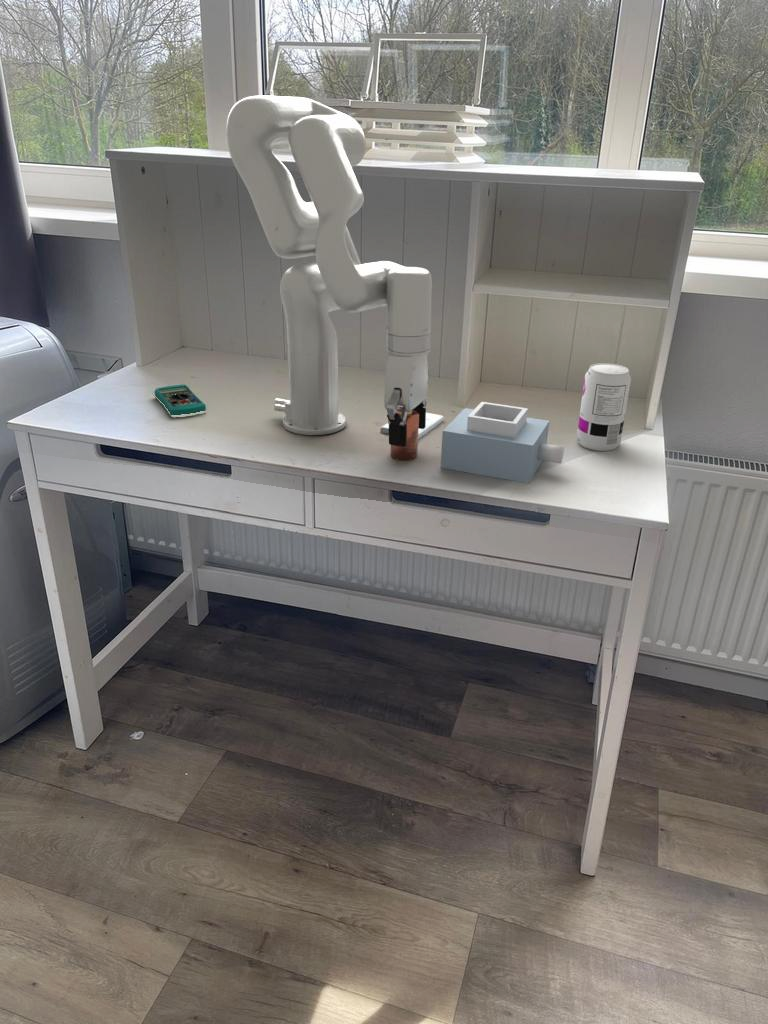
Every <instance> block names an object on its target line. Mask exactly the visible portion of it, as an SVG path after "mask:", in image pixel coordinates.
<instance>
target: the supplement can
mask: <svg viewBox="0 0 768 1024" xmlns="http://www.w3.org/2000/svg"><path fill="white" fill-rule="evenodd" d="M631 381H632V377H631V374H630V370H629V368H628V367H626V366H623V365H620V364H617V363H616V364H615V363H607V362H600V363H599V362H598V363H593V364H591V365H590V366H589V369H588V370H587V371H586V373H585V375H584V381H583V389H582V395H581V404H580V410H579V416H578V424H577V431H576V441H577V442H578V443H579V445H580V446H581V447H582V448H586V449H588V450H591V451H596V452H597V451H598V452H610V451H612V450H615V449H616V448H618V447H619V446H620V445H621V441H622V438H623V436H622V435H623V430H624V423H625V417H626V411H627V405H628V400H629V394H630V387H631Z"/></svg>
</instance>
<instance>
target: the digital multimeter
mask: <svg viewBox="0 0 768 1024" xmlns="http://www.w3.org/2000/svg"><path fill="white" fill-rule="evenodd" d="M175 394H176V395H175ZM155 396H156V397H157V398H158V399H159V400H160V401H161V402H162V403H163V404H164V405H165V407H166V408H167V409H168V411H169V412H170V414H171V415H181V414H190V413H196V412H200V411H205V410H206V411H207V406H206V403H204V402H203V401H202V400H201V399H200V398H199V397H197V395H196V394H195V393H194V392H193V391H192V389H191V388H190V387H189V386H188V385H186V384H176V385H175V384H174V385H167V386H161V387H157V388H156V389H155V390H154V397H155Z"/></svg>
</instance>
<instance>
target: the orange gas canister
mask: <svg viewBox="0 0 768 1024" xmlns="http://www.w3.org/2000/svg"><path fill="white" fill-rule="evenodd" d="M402 407H405V406H402ZM396 413H398V414H399V415H400V417H401V415H402V412H396ZM405 424H406V425H407V445H406V446H405V447H402V446H395V445H390V453H389V454H390V457H391V458H392V459H394V460H396V461H401V462H402V461H405V462H406V461H407V462H408V461H413V460H415V459H417V458H418V448H419V439H418V429H419V413H418V412H416V411H412V410H411V411H409V412H408V413H407V417H406V421H405Z"/></svg>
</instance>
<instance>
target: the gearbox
mask: <svg viewBox="0 0 768 1024" xmlns="http://www.w3.org/2000/svg"><path fill="white" fill-rule="evenodd" d="M528 411H529V408H526V407H521V406H514V405H513V406H512V405H508V404H500V403H493V402H487V401H481V402H480V403H479V404H478V405H477V406H476V407H475V408H473V409H472V408H466V407H465V408H463V409H462V410H461V411H460V412H459V413H458V415H456V416H455V417H454V419H452V421H451V422H450V423H449V424H448V425H447V426H446V427H445V428H444V429H443V430H442V435H441V453H440V454H441V455H440V468H442V469H448V470H452V471H458V472H463V473H470V474H474V475H481V476H485V477H491V478H496V479H504V480H508V481H515V482H519V483H525V484H530V482H531V481H532V479H533V478H534V477H535V474H536V472H537V470H539V467H540V466H541V464H542V463H543V461H544V462H549V463H555V464H556V463H557V464H561V463H562V462H563V458H564V454H565V446H564V445H557V444H549V443H548V435H549V428H550V427H549V426H550V420H546V419H539V418H533V417H528V413H529V412H528Z"/></svg>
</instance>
